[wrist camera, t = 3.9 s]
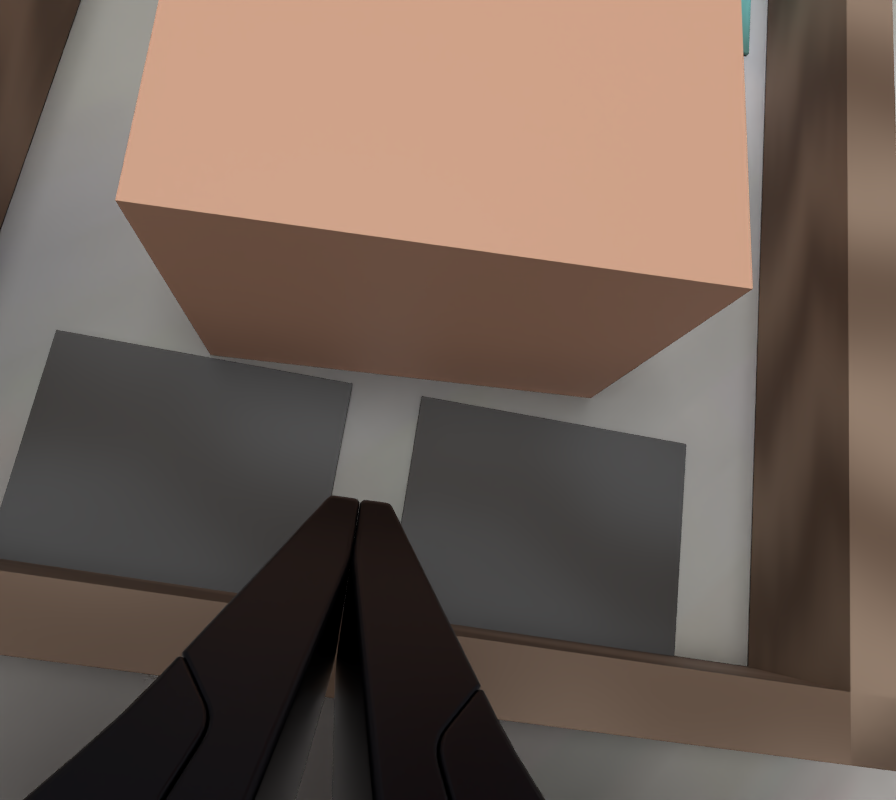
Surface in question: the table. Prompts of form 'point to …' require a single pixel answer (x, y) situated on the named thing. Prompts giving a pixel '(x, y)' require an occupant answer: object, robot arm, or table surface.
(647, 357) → the terracotta block
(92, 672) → the table surface
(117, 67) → the table surface
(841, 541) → the shallow wooden tray box
